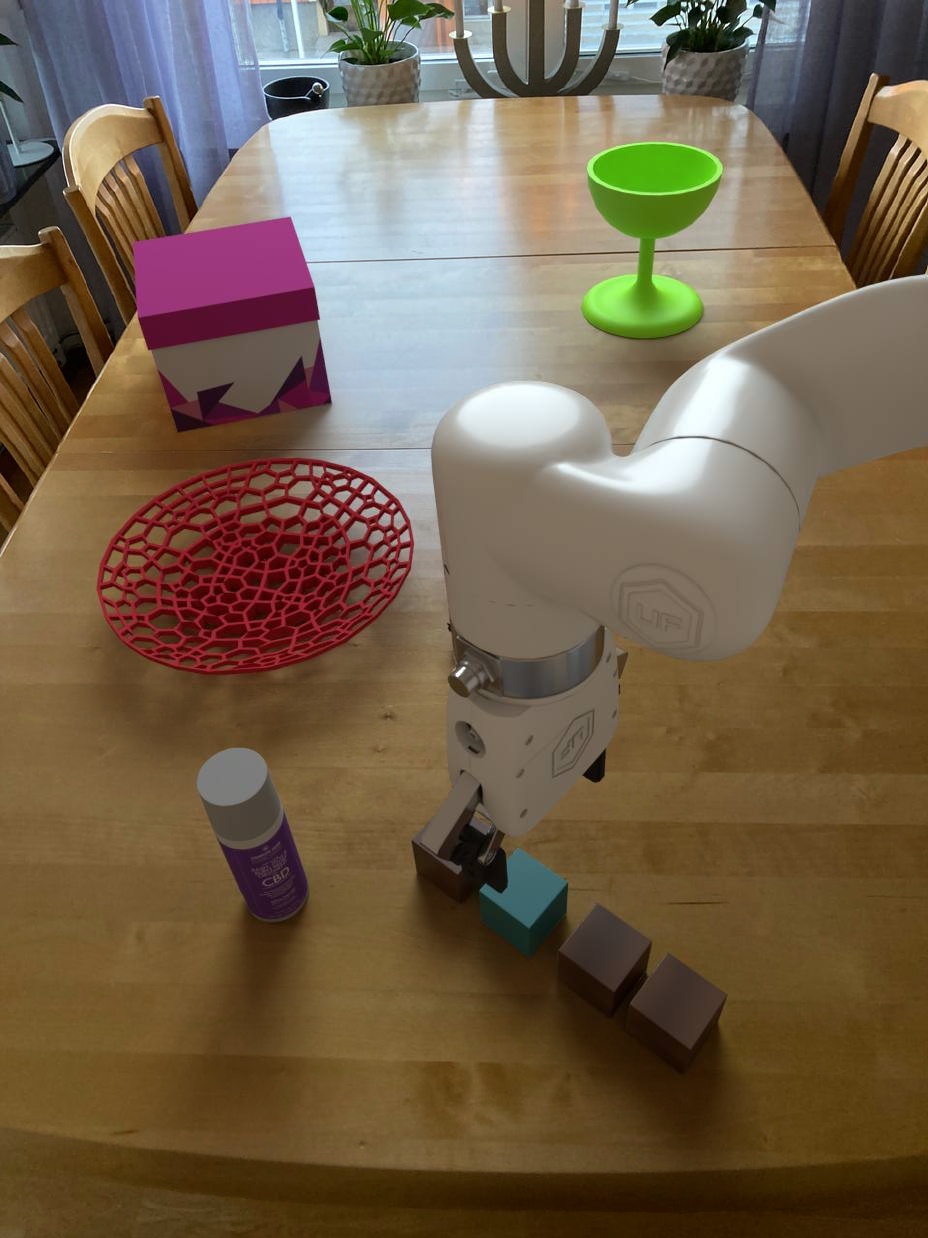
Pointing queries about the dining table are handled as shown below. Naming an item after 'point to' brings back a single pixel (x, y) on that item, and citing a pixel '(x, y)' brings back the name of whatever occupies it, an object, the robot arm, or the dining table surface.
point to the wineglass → (649, 232)
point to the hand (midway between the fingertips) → (534, 821)
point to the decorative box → (231, 323)
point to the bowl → (256, 570)
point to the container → (253, 833)
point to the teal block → (525, 903)
